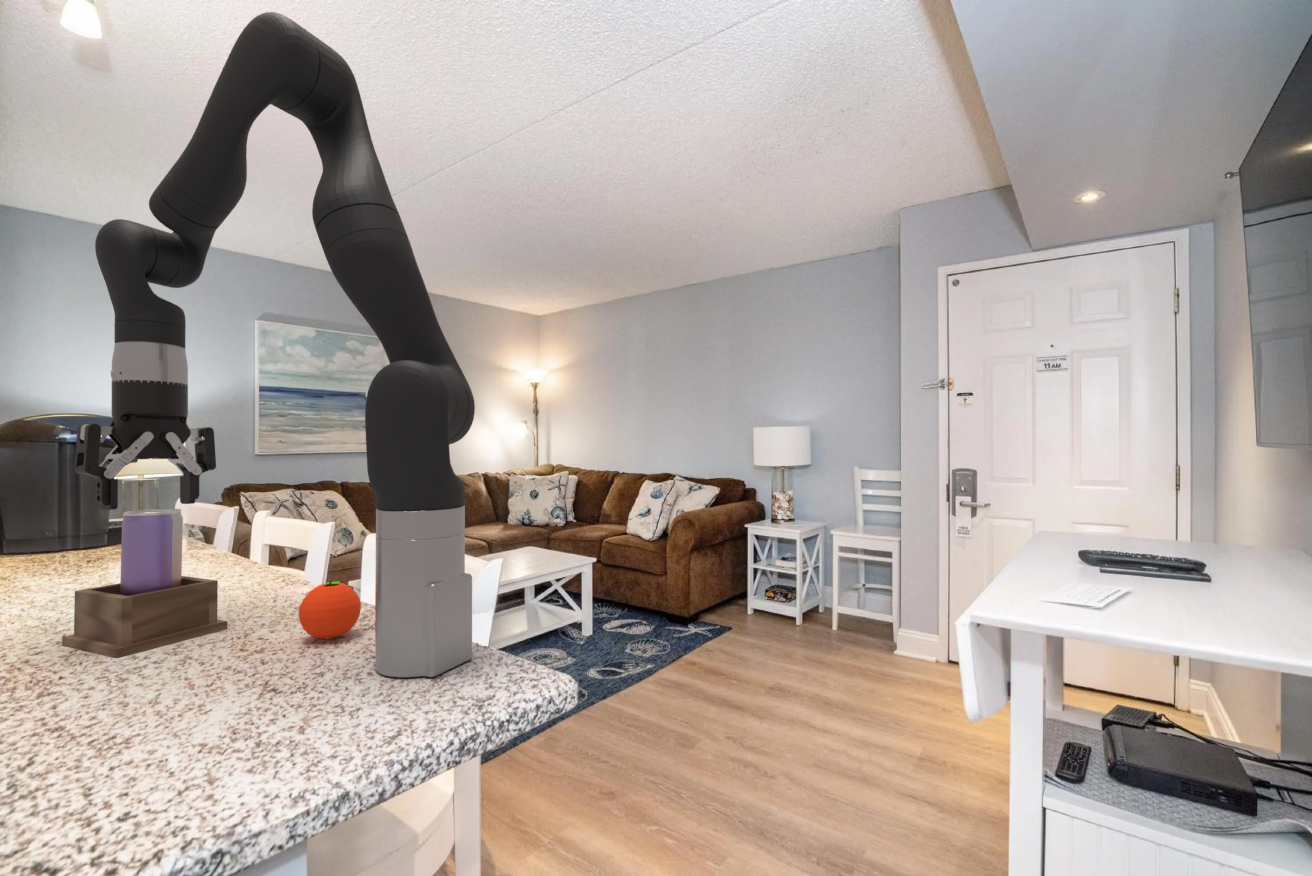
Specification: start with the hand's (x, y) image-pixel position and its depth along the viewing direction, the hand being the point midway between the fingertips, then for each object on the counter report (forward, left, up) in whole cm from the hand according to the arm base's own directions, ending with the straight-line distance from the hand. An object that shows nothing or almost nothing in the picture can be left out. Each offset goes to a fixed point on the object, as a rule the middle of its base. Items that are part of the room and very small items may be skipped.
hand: (150, 506), depth 76 cm
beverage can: (0, 0, -16) cm, 16 cm away
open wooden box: (0, 0, -17) cm, 17 cm away
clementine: (-22, -9, -17) cm, 29 cm away
